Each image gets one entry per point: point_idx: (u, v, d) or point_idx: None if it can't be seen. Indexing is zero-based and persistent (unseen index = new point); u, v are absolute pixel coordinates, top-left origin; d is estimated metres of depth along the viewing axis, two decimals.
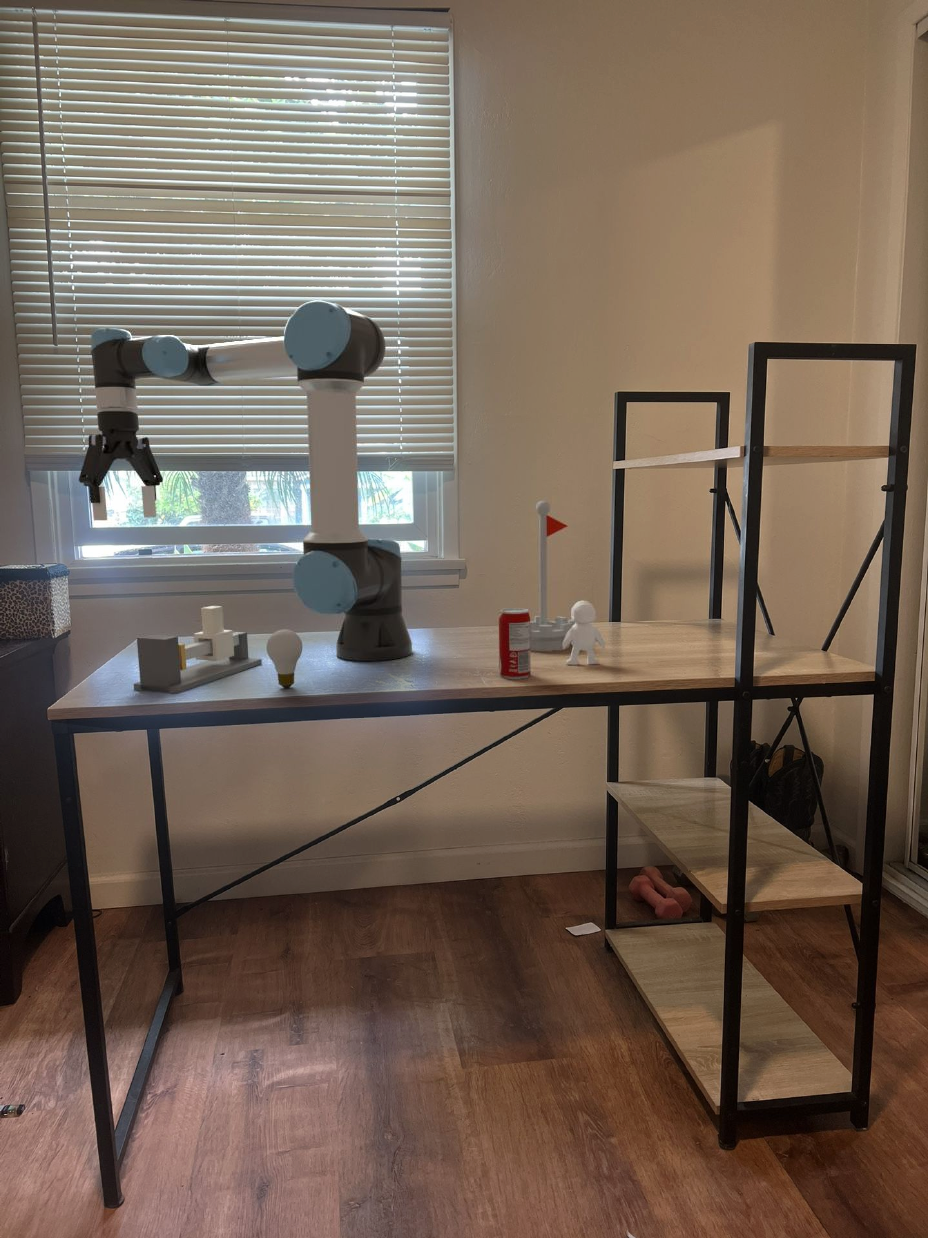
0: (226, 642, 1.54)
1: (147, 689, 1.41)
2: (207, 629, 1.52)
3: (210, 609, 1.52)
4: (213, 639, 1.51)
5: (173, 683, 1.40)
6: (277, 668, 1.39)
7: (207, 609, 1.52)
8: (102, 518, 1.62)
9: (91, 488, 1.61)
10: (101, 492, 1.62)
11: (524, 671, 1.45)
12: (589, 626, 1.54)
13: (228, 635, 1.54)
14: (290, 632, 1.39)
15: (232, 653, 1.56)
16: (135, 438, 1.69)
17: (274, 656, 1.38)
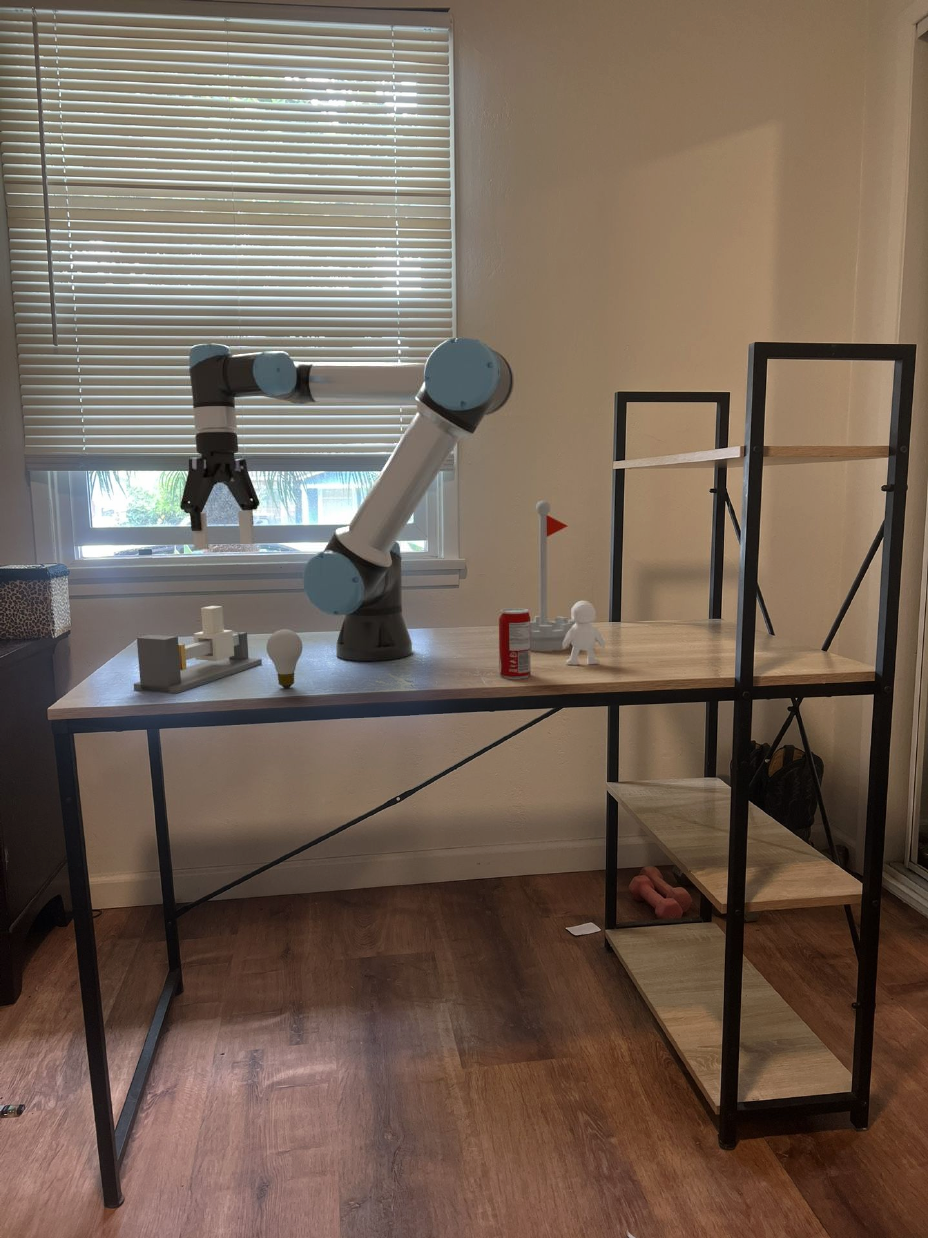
0: (226, 642, 1.54)
1: (147, 689, 1.41)
2: (207, 629, 1.52)
3: (210, 609, 1.52)
4: (213, 639, 1.51)
5: (173, 683, 1.40)
6: (277, 668, 1.39)
7: (207, 609, 1.52)
8: (204, 547, 1.52)
9: (192, 515, 1.50)
10: (203, 519, 1.51)
11: (524, 671, 1.45)
12: (589, 626, 1.54)
13: (228, 635, 1.54)
14: (290, 632, 1.39)
15: (232, 653, 1.56)
16: (233, 460, 1.59)
17: (274, 656, 1.38)
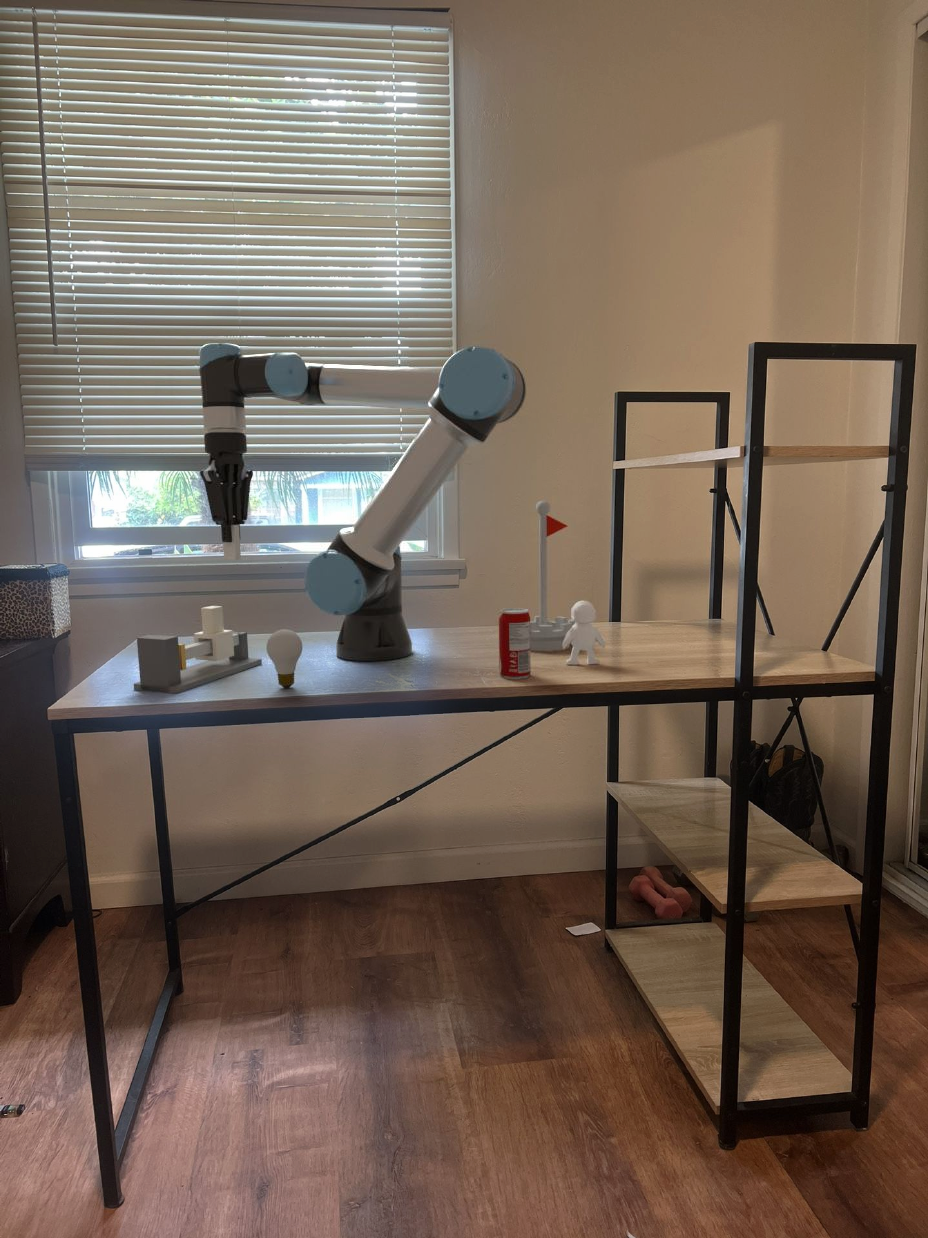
0: (226, 642, 1.54)
1: (147, 689, 1.41)
2: (207, 629, 1.52)
3: (210, 609, 1.52)
4: (213, 639, 1.51)
5: (173, 683, 1.40)
6: (277, 668, 1.39)
7: (207, 609, 1.52)
8: (234, 558, 1.57)
9: (223, 527, 1.56)
10: (233, 531, 1.56)
11: (524, 671, 1.45)
12: (589, 626, 1.54)
13: (228, 635, 1.54)
14: (290, 632, 1.39)
15: (232, 653, 1.56)
16: (243, 461, 1.58)
17: (274, 656, 1.38)
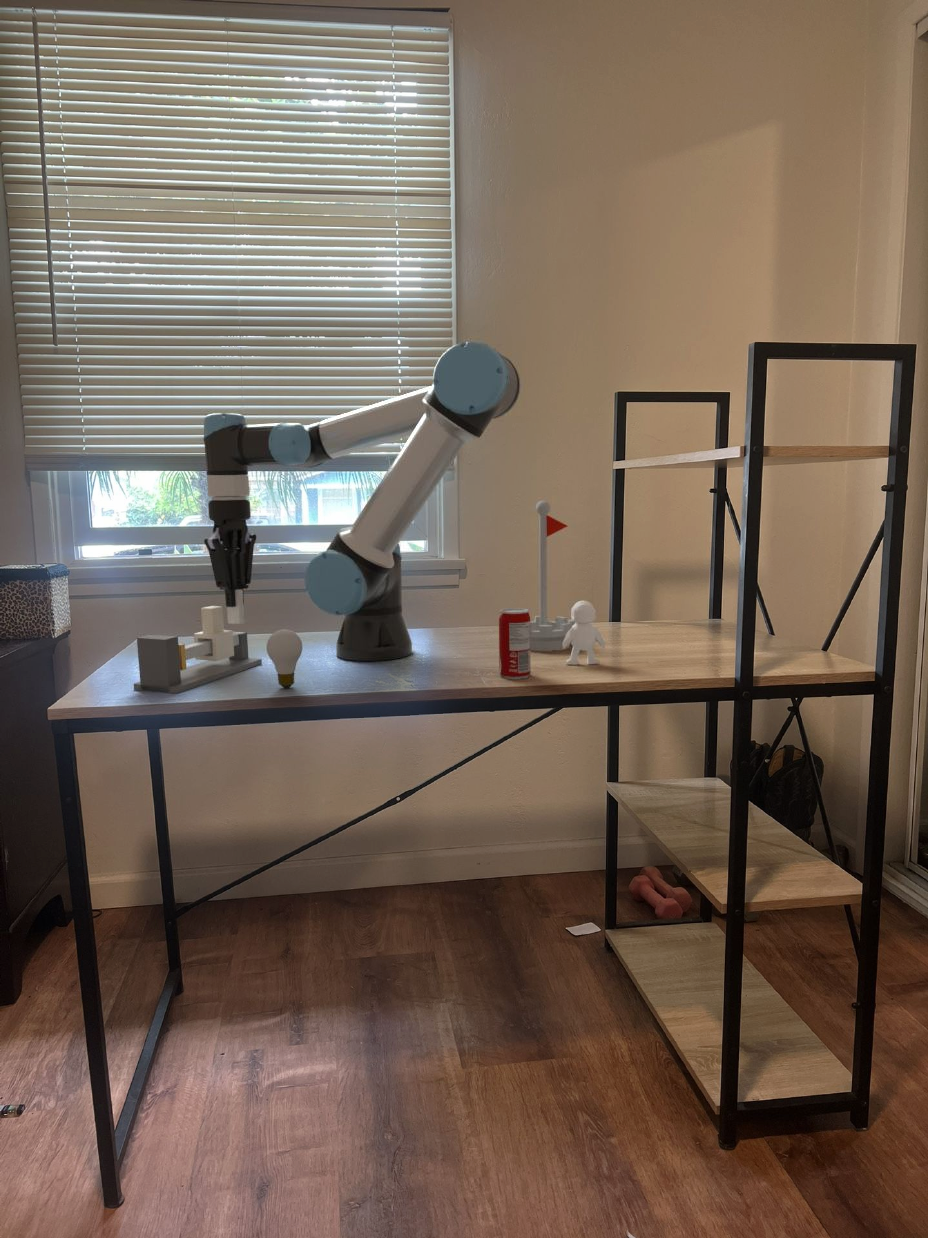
0: (226, 642, 1.54)
1: (147, 689, 1.41)
2: (207, 629, 1.52)
3: (210, 609, 1.52)
4: (213, 639, 1.51)
5: (173, 683, 1.40)
6: (277, 668, 1.39)
7: (207, 609, 1.52)
8: (237, 622, 1.59)
9: (227, 592, 1.57)
10: (237, 596, 1.58)
11: (524, 671, 1.45)
12: (589, 626, 1.54)
13: (228, 635, 1.54)
14: (290, 632, 1.39)
15: (232, 653, 1.56)
16: (246, 526, 1.60)
17: (274, 656, 1.38)
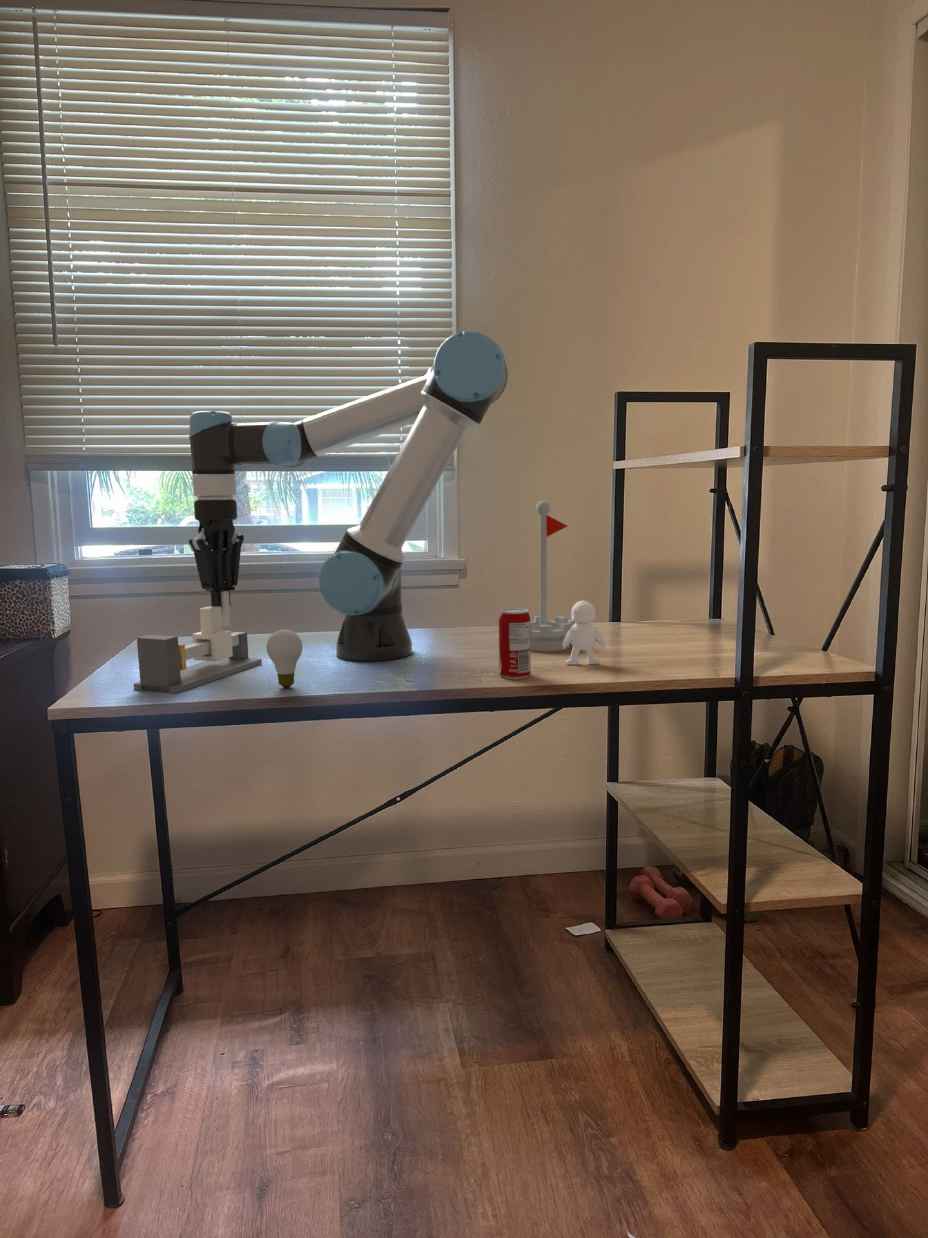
0: (225, 642, 1.53)
1: (147, 689, 1.41)
2: (205, 629, 1.52)
3: (208, 609, 1.51)
4: (211, 639, 1.51)
5: (173, 683, 1.40)
6: (277, 668, 1.39)
7: (205, 609, 1.51)
8: (223, 625, 1.56)
9: (213, 594, 1.54)
10: (223, 598, 1.55)
11: (524, 671, 1.45)
12: (589, 626, 1.54)
13: (227, 635, 1.54)
14: (290, 632, 1.39)
15: (231, 653, 1.55)
16: (233, 527, 1.56)
17: (274, 656, 1.38)
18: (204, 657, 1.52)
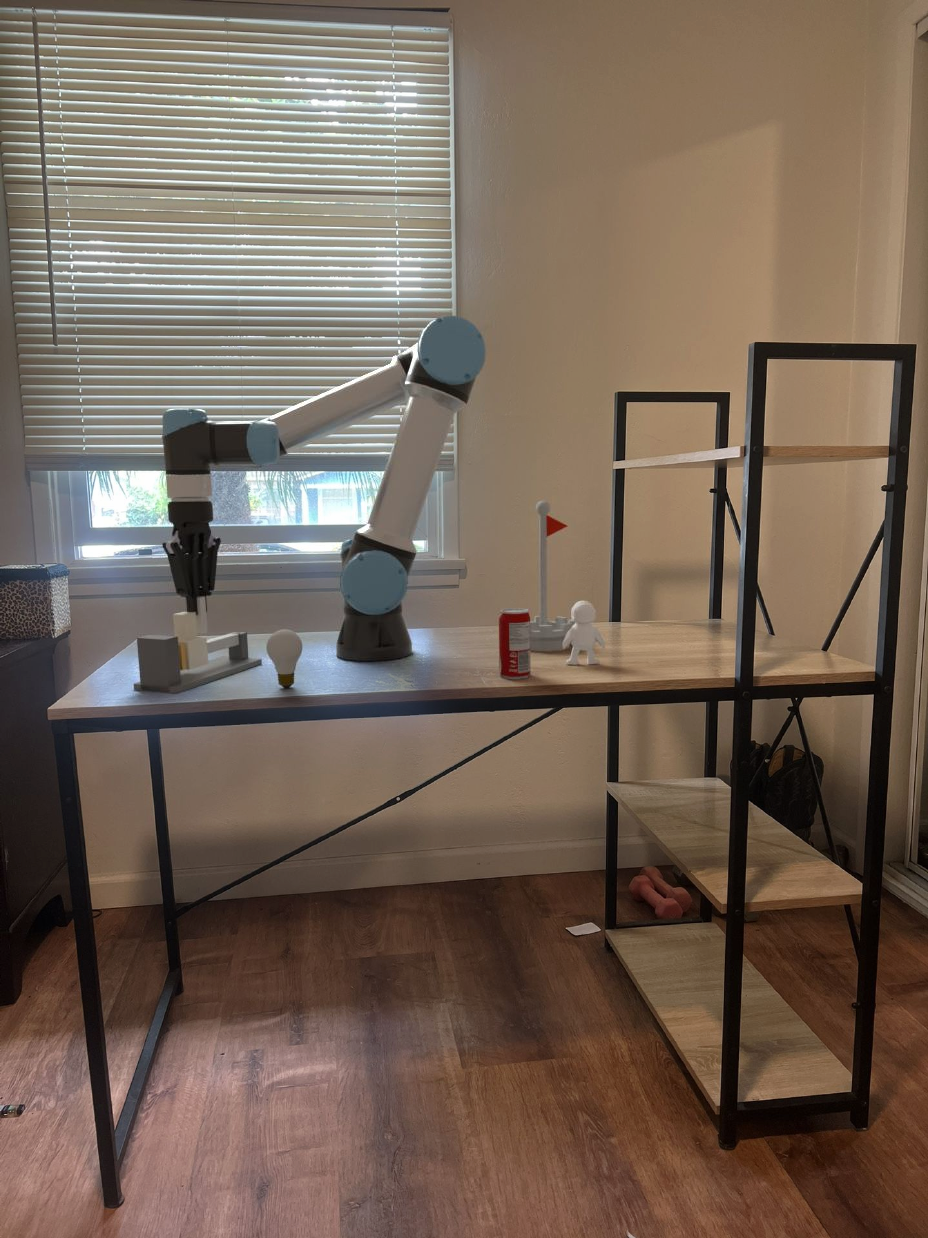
0: (199, 650, 1.47)
1: (147, 689, 1.41)
2: (179, 636, 1.46)
3: (182, 615, 1.45)
4: (185, 647, 1.44)
5: (173, 683, 1.40)
6: (277, 668, 1.39)
7: (179, 615, 1.45)
8: (200, 632, 1.49)
9: (189, 600, 1.47)
10: (199, 603, 1.48)
11: (524, 671, 1.45)
12: (589, 626, 1.54)
13: (201, 642, 1.47)
14: (290, 632, 1.39)
15: (206, 661, 1.49)
16: (209, 529, 1.50)
17: (274, 656, 1.38)
18: None
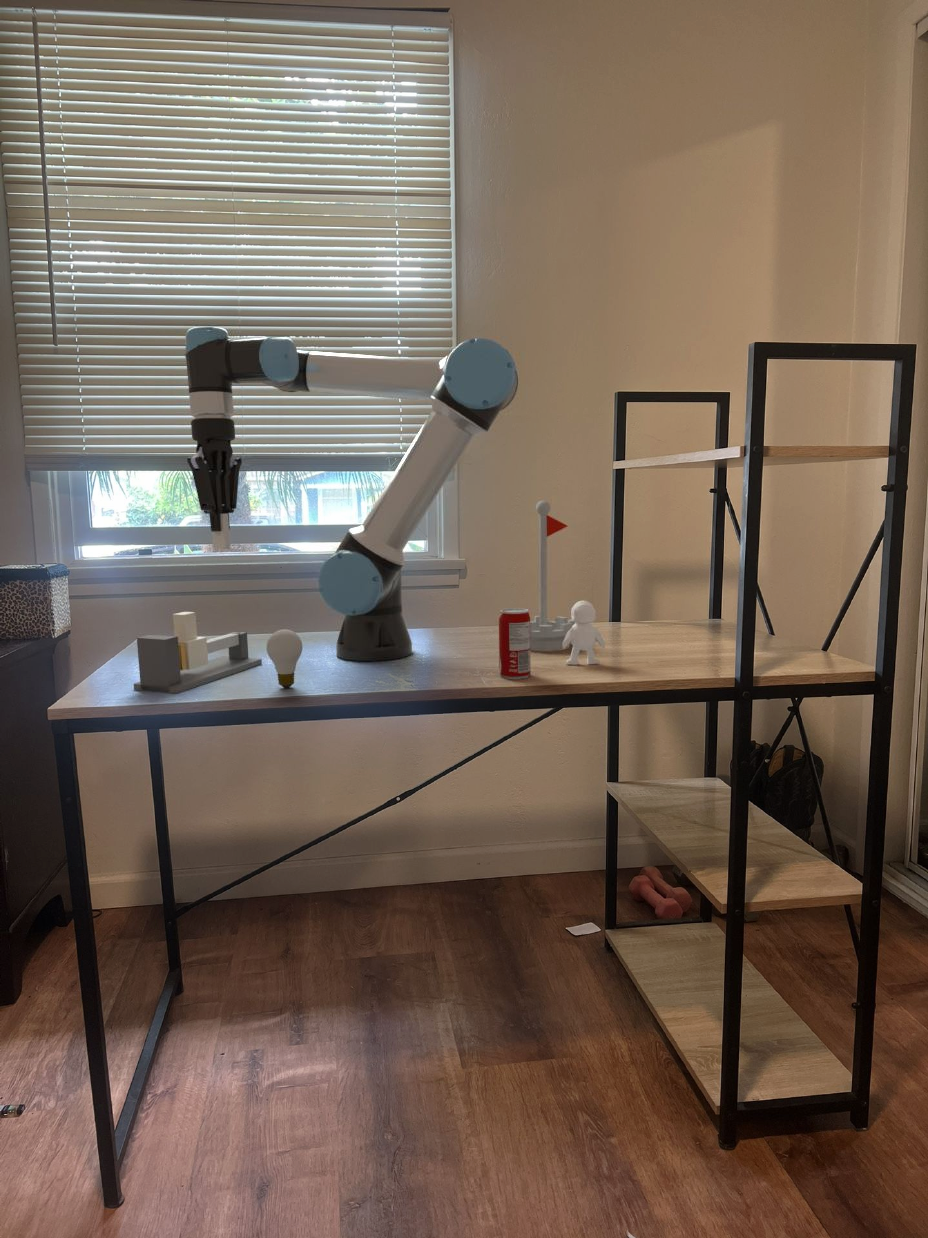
0: (199, 650, 1.47)
1: (147, 689, 1.41)
2: (179, 636, 1.46)
3: (182, 615, 1.45)
4: (185, 647, 1.44)
5: (173, 683, 1.40)
6: (277, 668, 1.39)
7: (179, 615, 1.45)
8: (223, 548, 1.53)
9: (212, 516, 1.52)
10: (222, 520, 1.53)
11: (524, 671, 1.45)
12: (589, 626, 1.54)
13: (201, 642, 1.47)
14: (290, 632, 1.39)
15: (206, 661, 1.49)
16: (231, 449, 1.54)
17: (274, 656, 1.38)
18: None
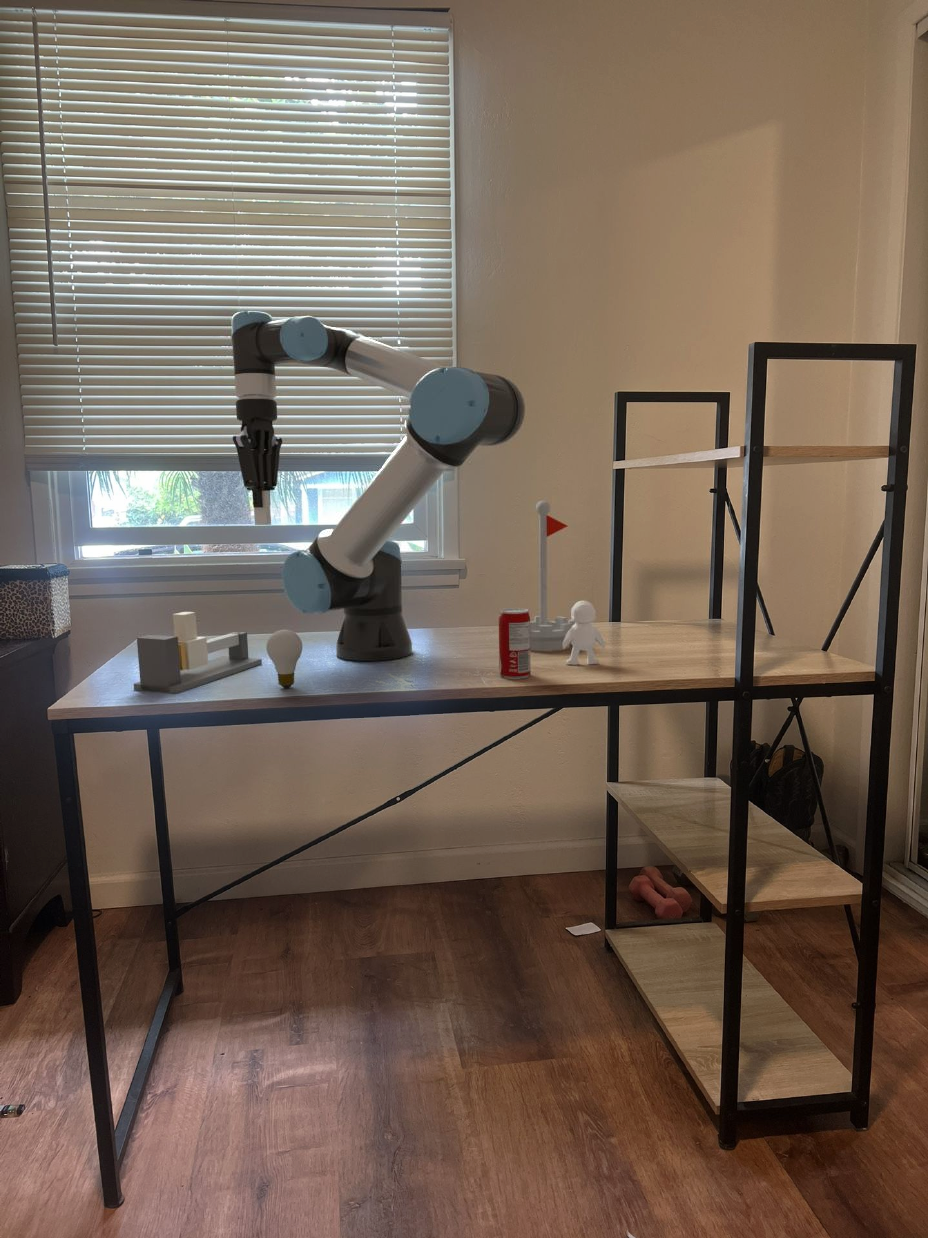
0: (199, 650, 1.47)
1: (147, 689, 1.41)
2: (179, 636, 1.46)
3: (182, 615, 1.45)
4: (185, 647, 1.44)
5: (173, 683, 1.40)
6: (277, 668, 1.39)
7: (179, 615, 1.45)
8: (264, 523, 1.61)
9: (255, 492, 1.59)
10: (264, 496, 1.60)
11: (524, 671, 1.45)
12: (589, 626, 1.54)
13: (201, 642, 1.47)
14: (290, 632, 1.39)
15: (206, 661, 1.49)
16: (273, 429, 1.62)
17: (274, 656, 1.38)
18: None
